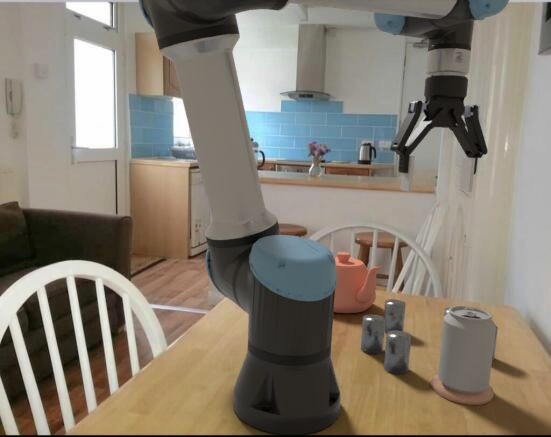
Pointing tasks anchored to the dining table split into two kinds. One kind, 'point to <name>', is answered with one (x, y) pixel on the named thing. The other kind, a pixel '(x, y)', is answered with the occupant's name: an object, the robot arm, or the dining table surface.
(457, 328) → the can
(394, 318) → the chrome peg cluster
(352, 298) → the teapot
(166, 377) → the dining table surface
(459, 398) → the pink flat disc
